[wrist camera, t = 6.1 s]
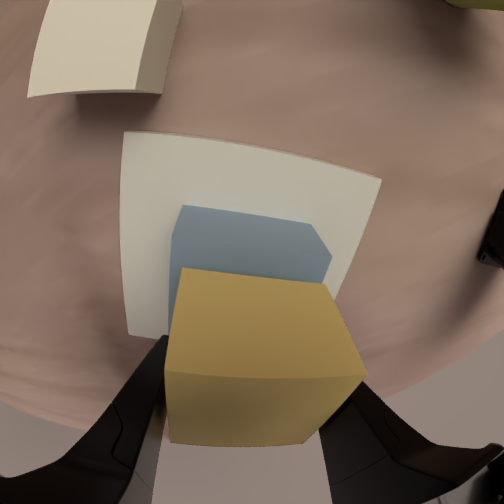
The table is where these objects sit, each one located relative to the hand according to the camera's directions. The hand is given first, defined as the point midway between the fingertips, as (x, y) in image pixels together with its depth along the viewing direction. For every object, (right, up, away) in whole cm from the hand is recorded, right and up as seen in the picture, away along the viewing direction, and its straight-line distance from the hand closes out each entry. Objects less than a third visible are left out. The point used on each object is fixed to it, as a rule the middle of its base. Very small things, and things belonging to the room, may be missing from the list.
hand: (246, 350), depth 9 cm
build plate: (-1, +3, +5) cm, 6 cm away
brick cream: (-5, +13, -1) cm, 14 cm away
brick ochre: (0, 0, +1) cm, 1 cm away
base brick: (-1, +3, +4) cm, 5 cm away
